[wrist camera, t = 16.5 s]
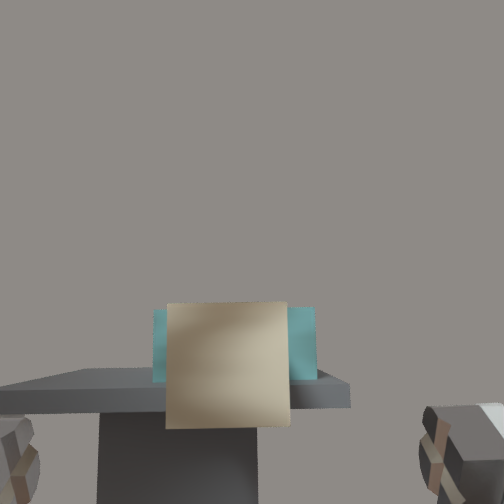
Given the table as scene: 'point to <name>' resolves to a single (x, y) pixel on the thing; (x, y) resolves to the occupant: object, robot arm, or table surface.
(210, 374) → the tan and teal block
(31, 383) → the stand
